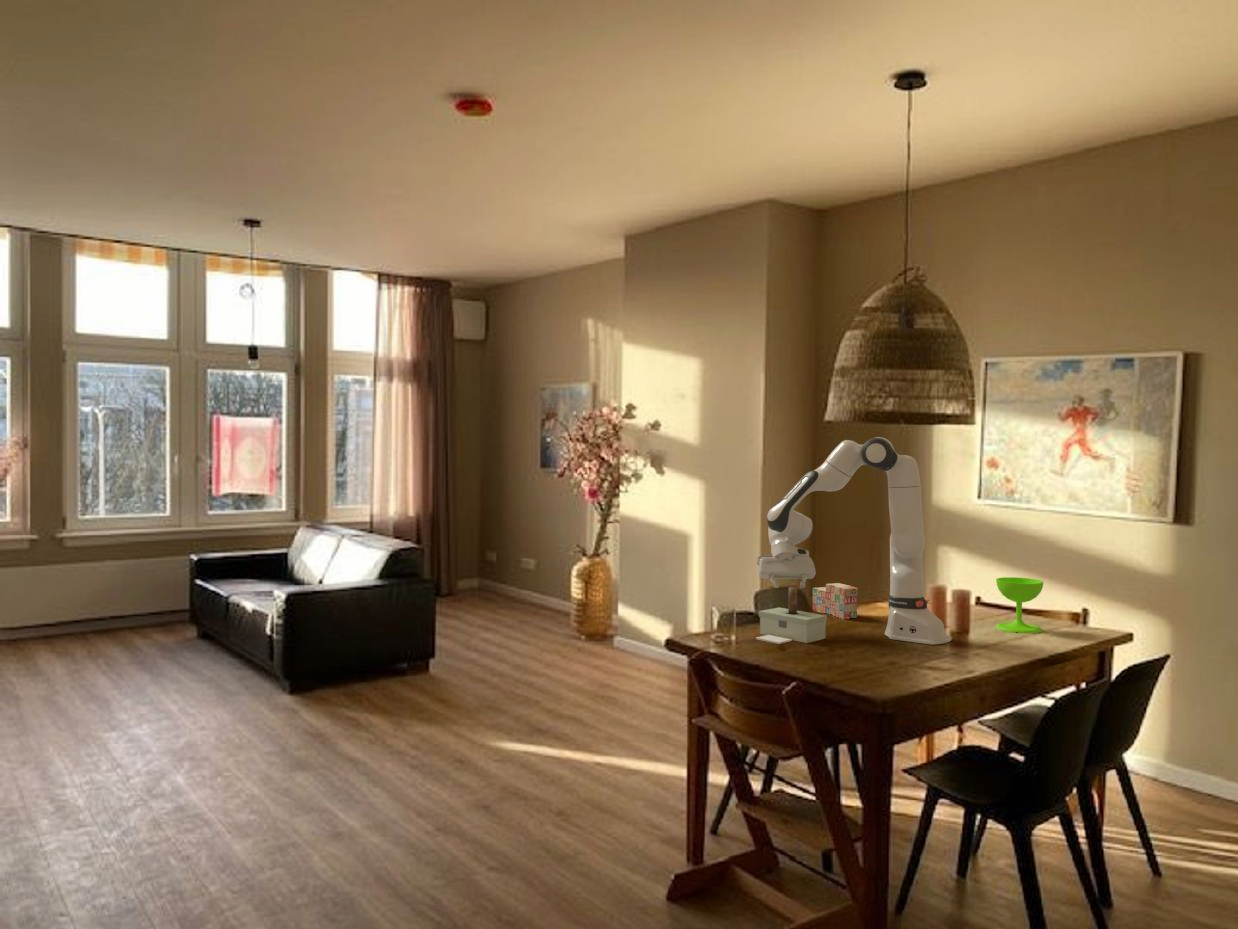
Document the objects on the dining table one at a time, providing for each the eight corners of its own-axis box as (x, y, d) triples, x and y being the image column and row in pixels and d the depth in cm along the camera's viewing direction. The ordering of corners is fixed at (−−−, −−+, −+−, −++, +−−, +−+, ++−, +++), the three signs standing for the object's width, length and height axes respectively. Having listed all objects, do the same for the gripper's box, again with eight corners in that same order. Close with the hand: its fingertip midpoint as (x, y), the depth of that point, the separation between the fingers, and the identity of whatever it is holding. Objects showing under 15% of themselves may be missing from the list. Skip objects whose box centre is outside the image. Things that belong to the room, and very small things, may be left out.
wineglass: (1050, 634, 328) (1051, 584, 327) (1005, 633, 328) (1006, 583, 327) (1031, 625, 344) (1032, 577, 343) (988, 624, 344) (989, 577, 343)
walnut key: (798, 619, 320) (798, 588, 320) (793, 620, 318) (793, 588, 318) (791, 618, 322) (792, 587, 322) (786, 619, 320) (786, 587, 320)
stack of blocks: (811, 610, 371) (812, 580, 371) (824, 609, 374) (825, 579, 373) (844, 620, 351) (844, 588, 351) (857, 619, 354) (857, 587, 353)
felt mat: (791, 641, 312) (791, 639, 312) (779, 644, 307) (779, 642, 307) (768, 636, 319) (768, 634, 319) (755, 639, 315) (755, 637, 315)
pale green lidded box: (826, 638, 317) (826, 615, 317) (806, 643, 309) (806, 619, 309) (778, 629, 332) (779, 607, 332) (758, 633, 324) (758, 611, 324)
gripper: (757, 550, 332) (762, 581, 322) (812, 550, 332) (819, 581, 323) (754, 561, 336) (759, 591, 327) (809, 561, 337) (816, 592, 327)
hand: (789, 586), depth 325 cm, fingers open, 8 cm apart
